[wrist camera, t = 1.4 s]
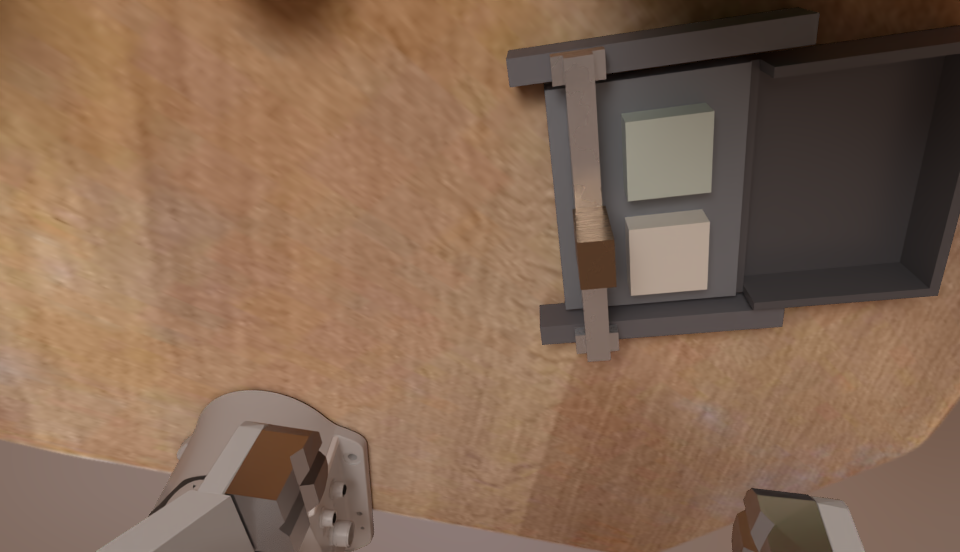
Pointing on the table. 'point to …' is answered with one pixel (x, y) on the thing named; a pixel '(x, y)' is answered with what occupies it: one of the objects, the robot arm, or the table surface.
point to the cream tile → (667, 252)
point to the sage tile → (667, 151)
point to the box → (851, 170)
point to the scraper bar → (588, 199)
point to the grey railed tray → (648, 90)
